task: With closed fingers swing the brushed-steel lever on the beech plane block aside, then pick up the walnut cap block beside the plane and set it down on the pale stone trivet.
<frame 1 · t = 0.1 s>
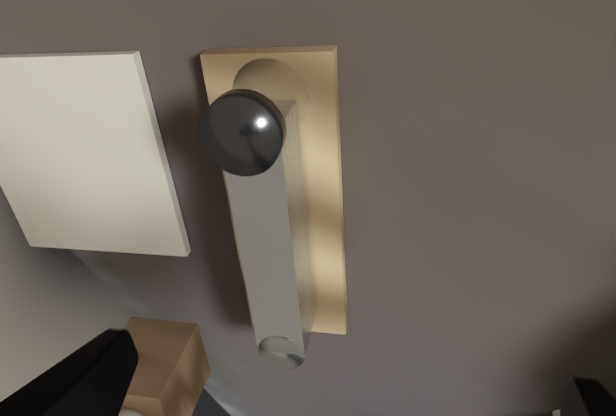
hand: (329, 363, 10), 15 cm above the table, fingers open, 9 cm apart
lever: (272, 241, 23), point 3 cm above the table, hinge at 0.0°
cap block: (172, 344, 34), on the table
trivet: (79, 161, 27), on the table
plane block: (288, 206, 26), on the table
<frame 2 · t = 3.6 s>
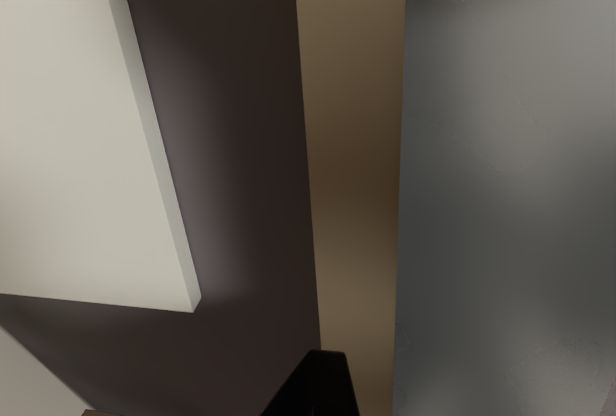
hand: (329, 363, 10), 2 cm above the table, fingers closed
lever: (486, 312, 7), point 3 cm above the table, hinge at 0.7°, touching gripper
plane block: (462, 199, 10), on the table
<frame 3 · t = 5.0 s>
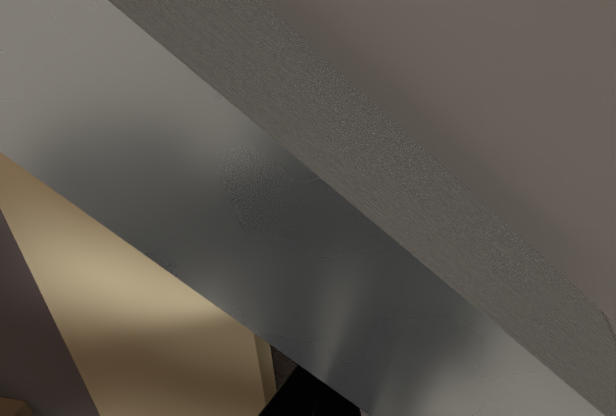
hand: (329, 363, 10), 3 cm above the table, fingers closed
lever: (267, 190, 7), point 3 cm above the table, hinge at 47.3°
plane block: (131, 189, 12), on the table
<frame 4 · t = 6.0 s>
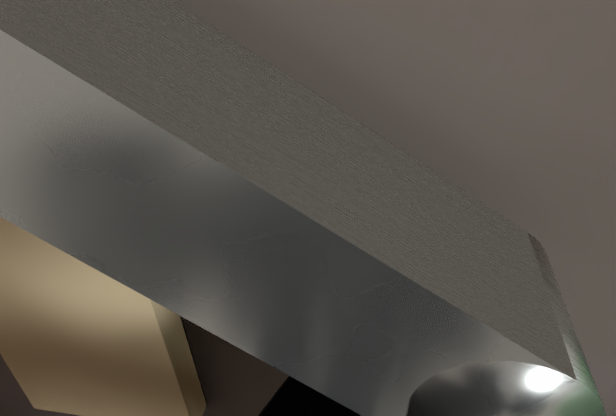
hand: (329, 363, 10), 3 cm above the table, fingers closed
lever: (113, 135, 7), point 3 cm above the table, hinge at 55.4°, touching gripper
plane block: (34, 183, 12), on the table
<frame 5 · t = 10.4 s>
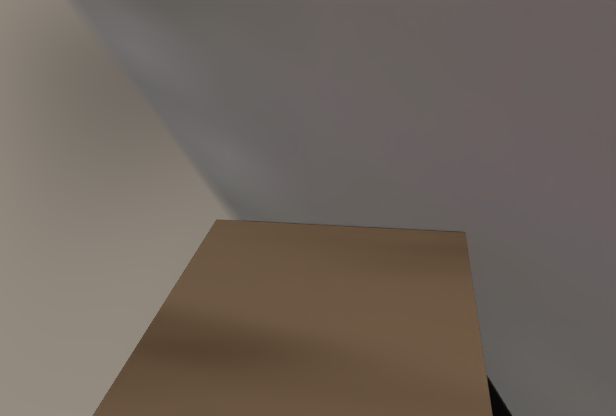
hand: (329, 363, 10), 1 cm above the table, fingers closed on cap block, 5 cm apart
cap block: (338, 315, 11), on the table, touching gripper
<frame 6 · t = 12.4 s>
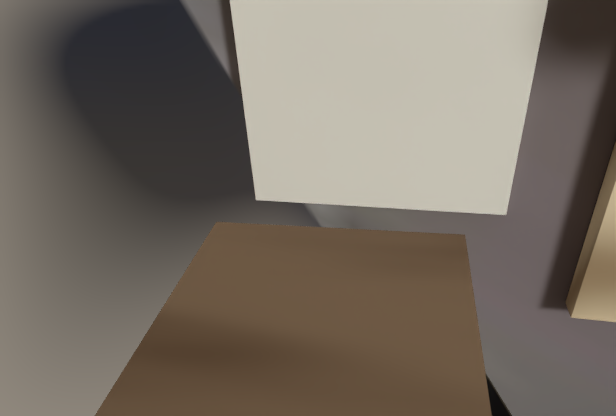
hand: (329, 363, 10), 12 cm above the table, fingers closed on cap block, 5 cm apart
cap block: (338, 317, 11), point 11 cm above the table, touching gripper
trivet: (378, 67, 18), on the table
when the fingers open (3 cm above the table, at t = 14.6 s): cap block drops 1 cm, resting on trivet.
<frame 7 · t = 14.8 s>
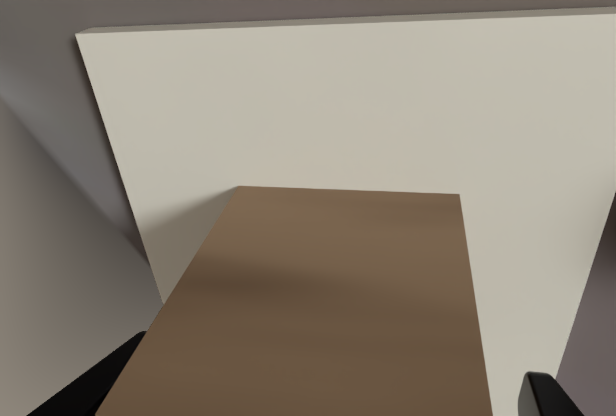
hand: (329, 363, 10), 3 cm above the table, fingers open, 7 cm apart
cap block: (346, 274, 12), point 1 cm above the table, touching trivet
trivet: (348, 258, 12), on the table
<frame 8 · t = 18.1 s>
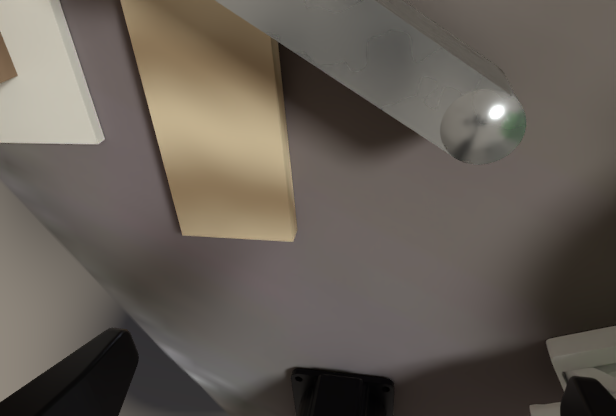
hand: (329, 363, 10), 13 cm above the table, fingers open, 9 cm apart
security camera: (595, 362, 26), on the table
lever: (312, 3, 15), point 3 cm above the table, hinge at 55.4°
plane block: (213, 67, 20), on the table
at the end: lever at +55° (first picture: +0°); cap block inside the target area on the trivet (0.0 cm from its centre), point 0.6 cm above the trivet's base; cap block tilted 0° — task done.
